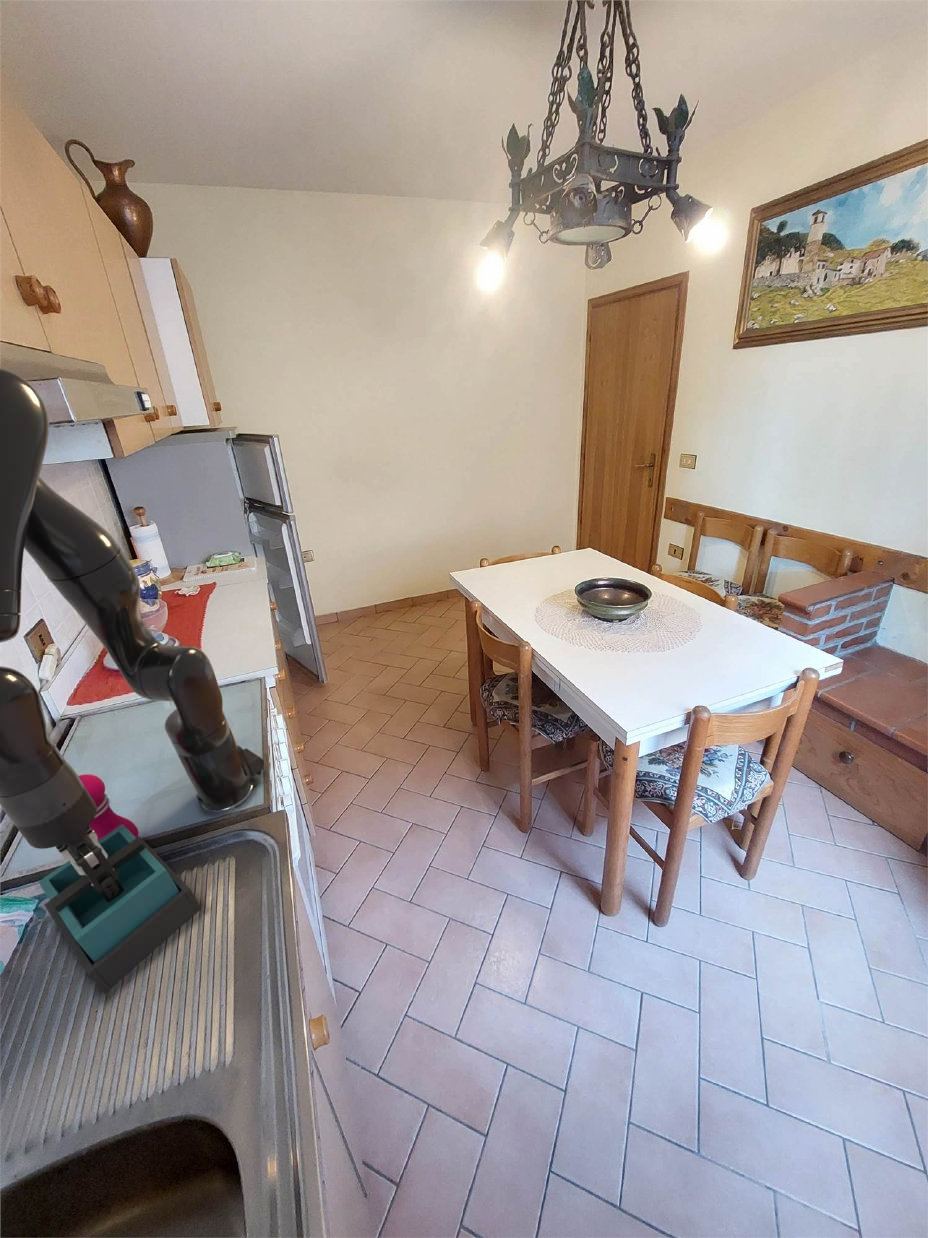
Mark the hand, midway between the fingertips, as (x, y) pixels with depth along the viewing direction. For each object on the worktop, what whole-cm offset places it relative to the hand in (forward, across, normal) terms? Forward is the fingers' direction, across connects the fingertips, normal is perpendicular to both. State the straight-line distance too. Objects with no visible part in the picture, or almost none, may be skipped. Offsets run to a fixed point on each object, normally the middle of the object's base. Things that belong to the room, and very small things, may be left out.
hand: (103, 880), depth 70 cm
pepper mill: (+10, +13, -4) cm, 17 cm away
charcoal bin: (+10, 0, 0) cm, 10 cm away
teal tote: (+9, 0, 0) cm, 9 cm away
